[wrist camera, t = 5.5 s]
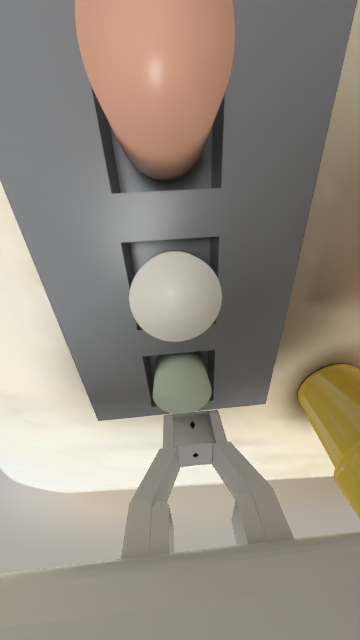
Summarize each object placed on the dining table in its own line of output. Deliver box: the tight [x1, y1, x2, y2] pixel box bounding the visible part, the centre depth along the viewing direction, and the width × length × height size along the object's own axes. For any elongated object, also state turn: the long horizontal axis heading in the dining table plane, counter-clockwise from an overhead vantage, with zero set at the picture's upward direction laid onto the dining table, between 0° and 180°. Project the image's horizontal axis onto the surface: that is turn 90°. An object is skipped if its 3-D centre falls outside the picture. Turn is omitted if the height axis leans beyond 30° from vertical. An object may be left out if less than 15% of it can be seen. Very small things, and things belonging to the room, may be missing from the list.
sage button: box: [153, 351, 212, 414], centre depth 13 cm, size 4×4×3 cm
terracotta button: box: [75, 0, 235, 181], centre depth 6 cm, size 4×4×3 cm
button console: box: [0, 0, 357, 421], centre depth 11 cm, size 14×21×3 cm, turn 3°
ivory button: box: [129, 250, 222, 342], centre depth 9 cm, size 4×4×3 cm
